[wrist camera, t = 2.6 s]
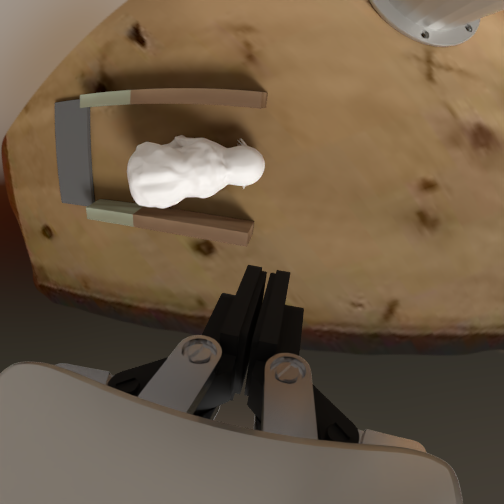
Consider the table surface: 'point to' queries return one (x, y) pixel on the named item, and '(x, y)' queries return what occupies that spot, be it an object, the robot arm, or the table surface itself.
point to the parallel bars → (167, 217)
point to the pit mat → (74, 153)
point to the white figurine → (189, 170)
